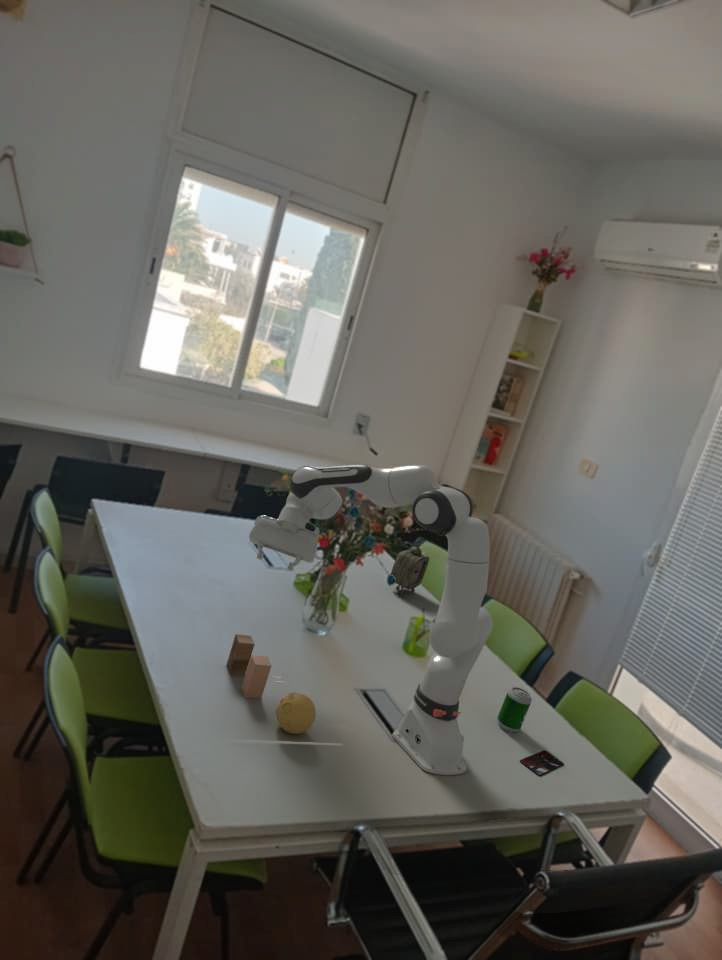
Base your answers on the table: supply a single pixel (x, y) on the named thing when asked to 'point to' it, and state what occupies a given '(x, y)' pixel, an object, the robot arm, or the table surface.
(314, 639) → the table surface
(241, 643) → the walnut pillar
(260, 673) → the terracotta pillar
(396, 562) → the rolling backpack
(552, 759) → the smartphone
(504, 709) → the soda can
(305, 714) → the stress ball
